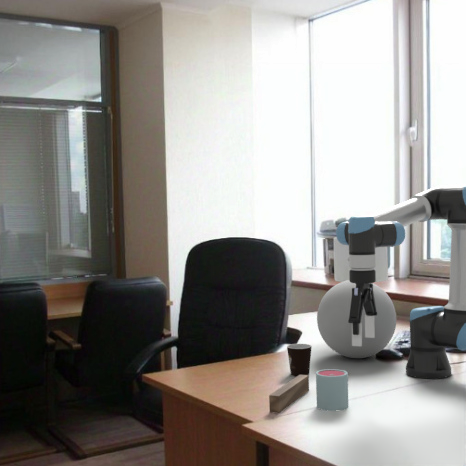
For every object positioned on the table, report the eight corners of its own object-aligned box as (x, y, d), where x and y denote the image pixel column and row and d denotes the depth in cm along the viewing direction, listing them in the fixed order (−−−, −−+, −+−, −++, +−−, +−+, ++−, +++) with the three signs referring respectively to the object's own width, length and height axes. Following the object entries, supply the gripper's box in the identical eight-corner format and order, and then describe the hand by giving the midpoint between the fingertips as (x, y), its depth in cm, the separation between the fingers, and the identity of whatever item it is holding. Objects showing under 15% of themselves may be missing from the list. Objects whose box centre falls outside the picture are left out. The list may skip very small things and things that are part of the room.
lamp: (397, 337, 312) (394, 235, 310) (377, 347, 292) (375, 238, 291) (348, 333, 324) (346, 235, 322) (327, 342, 305) (324, 238, 303)
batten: (309, 390, 228) (308, 375, 228) (279, 413, 205) (278, 396, 205) (300, 389, 230) (299, 374, 229) (269, 412, 206) (269, 395, 206)
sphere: (314, 350, 290) (313, 276, 289) (389, 348, 289) (387, 274, 288) (321, 367, 260) (319, 285, 259) (404, 365, 259) (402, 283, 258)
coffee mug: (311, 377, 245) (310, 348, 245) (286, 377, 247) (285, 348, 246) (314, 369, 256) (313, 342, 256) (290, 369, 258) (289, 341, 258)
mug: (340, 412, 204) (340, 377, 203) (311, 408, 209) (310, 374, 208) (359, 400, 215) (358, 367, 215) (330, 397, 220) (330, 364, 220)
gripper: (361, 265, 220) (362, 333, 221) (336, 272, 198) (338, 348, 199) (385, 265, 217) (387, 334, 218) (363, 273, 195) (364, 350, 195)
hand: (363, 341), depth 208 cm, fingers open, 13 cm apart
